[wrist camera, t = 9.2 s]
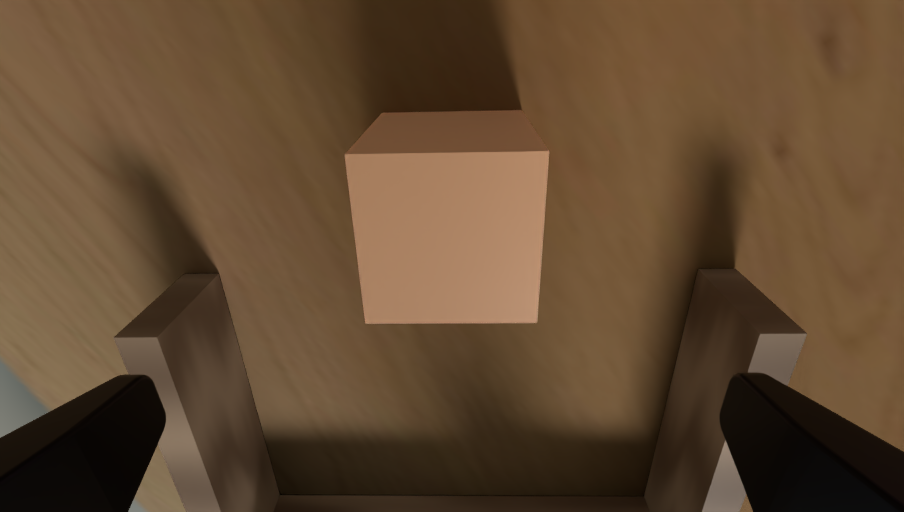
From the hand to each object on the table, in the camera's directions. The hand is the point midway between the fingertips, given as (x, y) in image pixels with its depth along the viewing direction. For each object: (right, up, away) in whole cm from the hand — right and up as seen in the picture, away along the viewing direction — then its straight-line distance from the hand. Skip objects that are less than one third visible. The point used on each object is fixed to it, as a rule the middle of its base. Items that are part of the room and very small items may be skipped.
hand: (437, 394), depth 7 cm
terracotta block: (0, +5, +11) cm, 12 cm away
